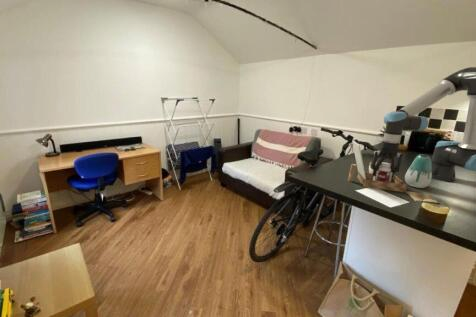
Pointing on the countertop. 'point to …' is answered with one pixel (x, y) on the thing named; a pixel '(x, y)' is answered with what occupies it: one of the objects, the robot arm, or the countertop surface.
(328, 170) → the countertop surface
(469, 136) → the robot arm
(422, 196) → the cork mat
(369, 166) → the lidded jar
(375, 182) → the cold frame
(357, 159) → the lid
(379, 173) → the pill bottle
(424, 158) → the vase
